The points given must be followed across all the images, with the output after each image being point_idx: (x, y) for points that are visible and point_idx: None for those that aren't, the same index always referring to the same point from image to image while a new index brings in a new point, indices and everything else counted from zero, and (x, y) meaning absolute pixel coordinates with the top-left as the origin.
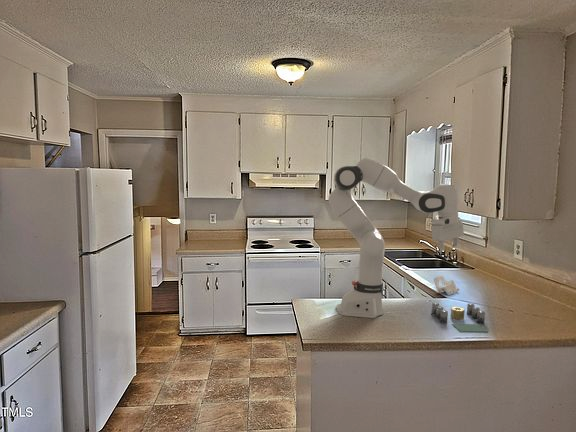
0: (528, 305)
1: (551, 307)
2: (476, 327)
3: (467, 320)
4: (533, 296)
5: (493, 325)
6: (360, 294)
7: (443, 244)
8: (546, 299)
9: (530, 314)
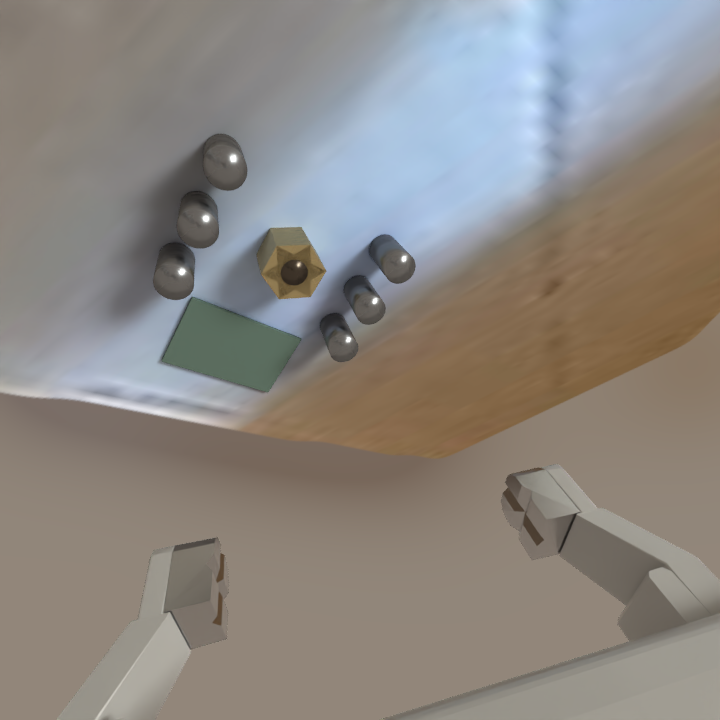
0: (651, 278)
1: (666, 319)
2: (262, 358)
3: None
4: None
5: None
6: None
7: (144, 716)
8: None
9: (554, 334)
